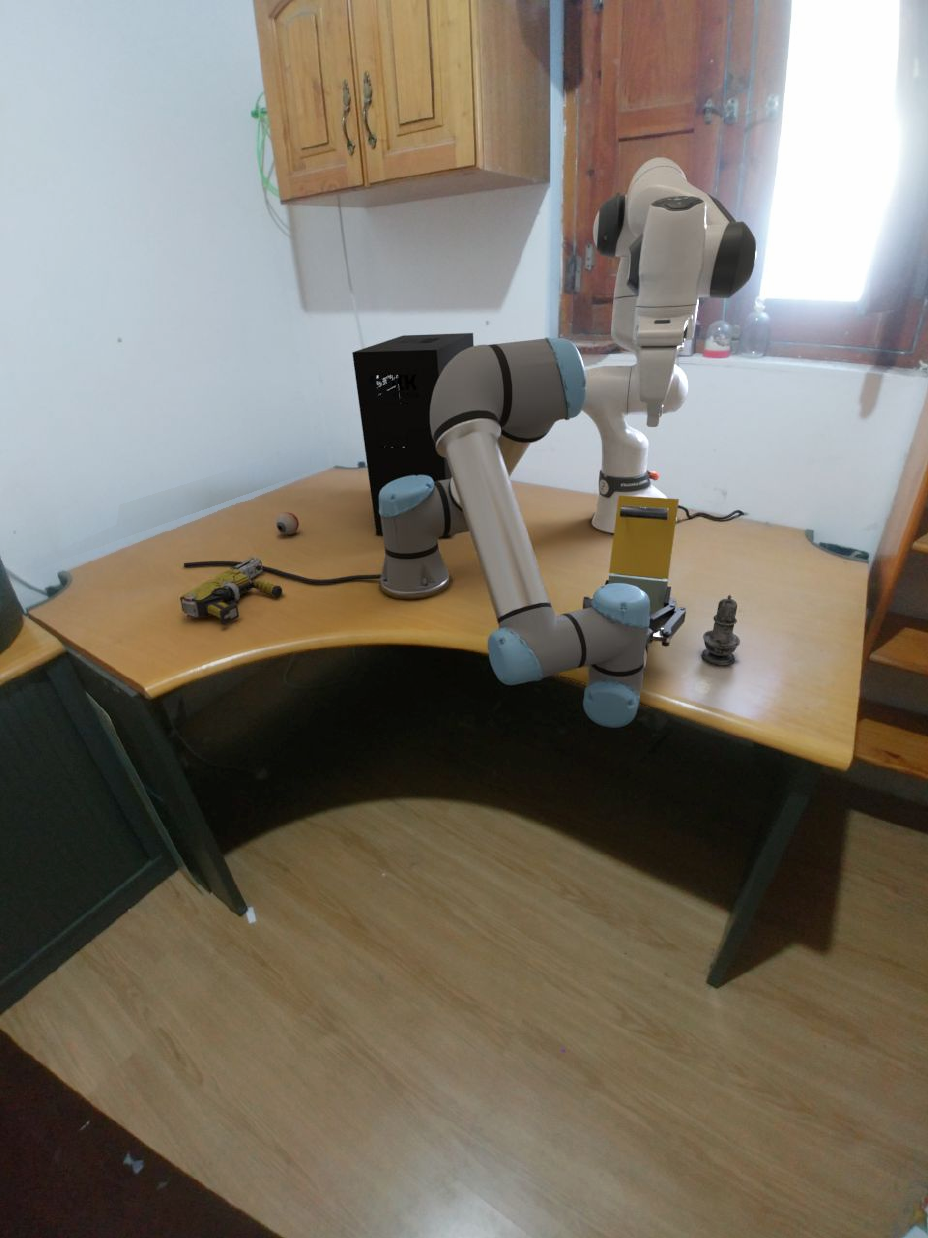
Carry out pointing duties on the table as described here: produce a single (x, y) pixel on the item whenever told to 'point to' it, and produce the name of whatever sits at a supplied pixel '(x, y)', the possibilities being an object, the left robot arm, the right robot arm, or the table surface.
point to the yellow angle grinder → (226, 592)
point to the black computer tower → (402, 407)
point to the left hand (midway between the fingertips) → (637, 589)
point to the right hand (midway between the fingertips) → (654, 421)
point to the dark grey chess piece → (722, 635)
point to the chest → (646, 588)
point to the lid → (643, 536)
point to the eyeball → (287, 523)
